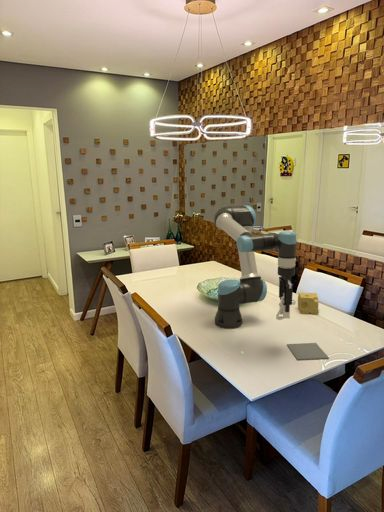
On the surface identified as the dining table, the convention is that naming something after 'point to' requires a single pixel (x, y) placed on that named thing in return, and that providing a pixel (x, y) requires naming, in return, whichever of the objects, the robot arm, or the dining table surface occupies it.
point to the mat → (307, 351)
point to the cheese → (308, 303)
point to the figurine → (282, 308)
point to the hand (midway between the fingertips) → (284, 316)
